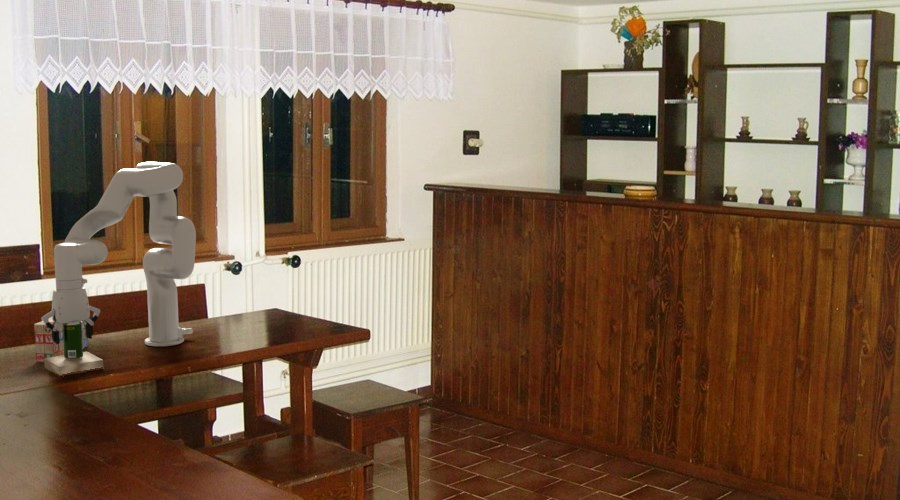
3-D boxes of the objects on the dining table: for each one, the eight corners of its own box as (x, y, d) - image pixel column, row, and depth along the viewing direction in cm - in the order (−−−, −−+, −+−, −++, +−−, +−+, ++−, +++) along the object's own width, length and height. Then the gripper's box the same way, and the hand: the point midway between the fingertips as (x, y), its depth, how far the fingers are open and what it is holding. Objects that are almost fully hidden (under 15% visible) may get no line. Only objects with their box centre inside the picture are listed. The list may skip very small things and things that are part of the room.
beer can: (83, 360, 313) (81, 321, 311) (64, 361, 311) (62, 322, 309) (83, 356, 318) (81, 317, 316) (64, 357, 316) (62, 318, 314)
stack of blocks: (71, 345, 343) (69, 309, 341) (89, 346, 342) (87, 309, 340) (36, 362, 322) (33, 323, 320) (54, 363, 321) (52, 324, 319)
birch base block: (87, 360, 324) (86, 351, 323) (103, 369, 314) (102, 359, 313) (44, 367, 315) (44, 358, 315) (59, 377, 306) (59, 367, 305)
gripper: (93, 279, 319) (96, 333, 322) (35, 286, 308) (39, 342, 311) (102, 282, 313) (106, 338, 316) (44, 290, 302) (48, 347, 305)
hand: (73, 340), depth 313 cm, fingers open, 9 cm apart
